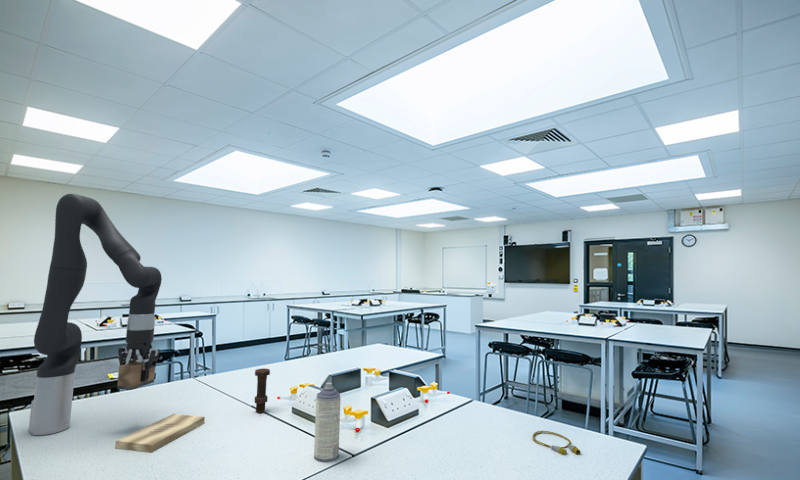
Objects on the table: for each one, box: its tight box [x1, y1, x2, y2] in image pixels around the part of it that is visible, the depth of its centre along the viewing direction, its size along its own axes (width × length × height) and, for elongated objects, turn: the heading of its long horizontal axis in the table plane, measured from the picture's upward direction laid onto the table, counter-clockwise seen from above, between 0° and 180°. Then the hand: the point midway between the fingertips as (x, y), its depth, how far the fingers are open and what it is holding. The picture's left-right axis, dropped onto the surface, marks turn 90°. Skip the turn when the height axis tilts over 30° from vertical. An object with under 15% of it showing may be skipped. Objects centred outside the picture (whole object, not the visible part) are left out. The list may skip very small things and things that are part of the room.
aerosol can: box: [313, 382, 341, 463], centre depth 110 cm, size 7×7×20 cm
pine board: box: [115, 413, 206, 453], centre depth 121 cm, size 12×22×2 cm, turn 170°
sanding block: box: [116, 360, 156, 391], centre depth 125 cm, size 5×9×7 cm, turn 170°
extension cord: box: [532, 430, 582, 456], centre depth 120 cm, size 12×16×2 cm
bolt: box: [254, 367, 271, 414], centre depth 142 cm, size 6×5×15 cm
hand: (136, 380), depth 125 cm, fingers closed on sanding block, 5 cm apart
